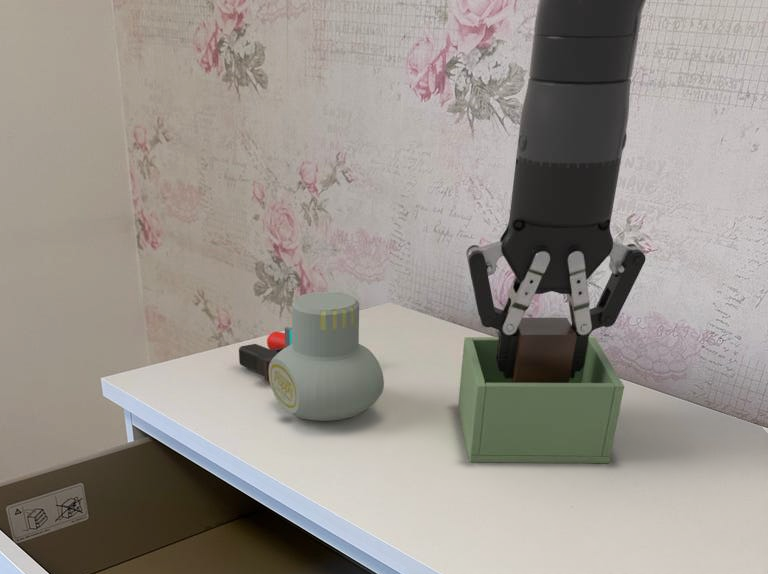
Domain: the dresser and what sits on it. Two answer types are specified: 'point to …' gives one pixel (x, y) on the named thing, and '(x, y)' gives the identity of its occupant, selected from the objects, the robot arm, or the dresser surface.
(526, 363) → the walnut block
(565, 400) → the green open box
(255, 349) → the toy gun
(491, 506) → the dresser surface
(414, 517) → the dresser surface
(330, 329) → the air freshener
